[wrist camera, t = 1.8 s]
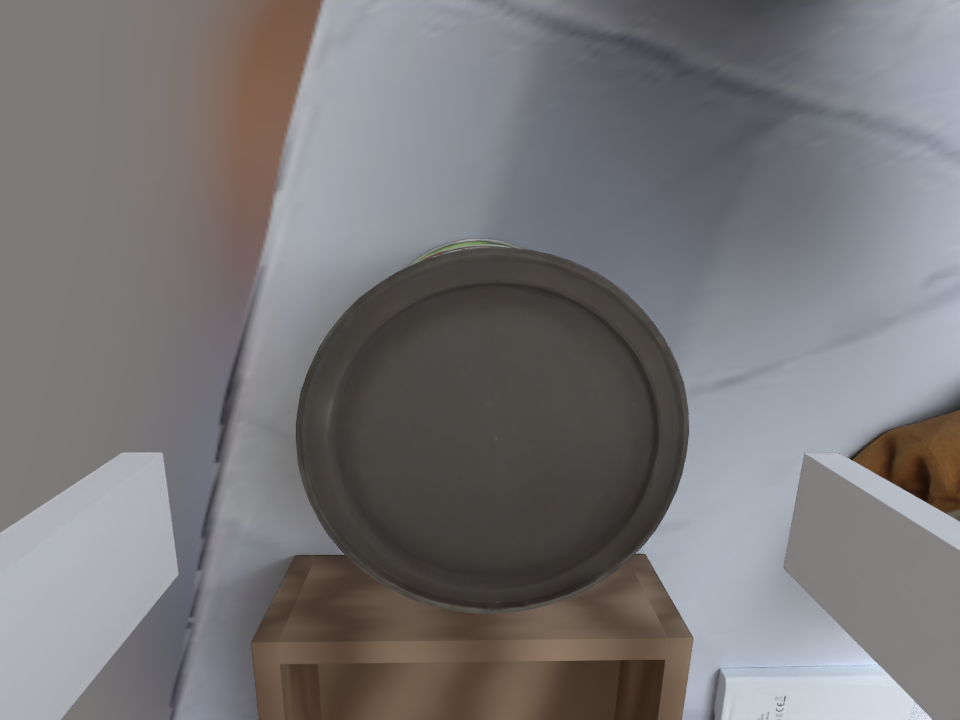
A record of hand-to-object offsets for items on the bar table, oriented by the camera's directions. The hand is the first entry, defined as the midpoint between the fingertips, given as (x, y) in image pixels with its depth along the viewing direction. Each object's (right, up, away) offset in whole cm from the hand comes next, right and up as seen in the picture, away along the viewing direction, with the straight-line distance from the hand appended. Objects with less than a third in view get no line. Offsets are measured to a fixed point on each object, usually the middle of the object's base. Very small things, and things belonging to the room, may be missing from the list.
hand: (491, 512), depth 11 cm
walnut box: (-1, -18, +22) cm, 28 cm away
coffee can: (0, +4, +17) cm, 17 cm away
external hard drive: (+21, -20, +24) cm, 38 cm away
